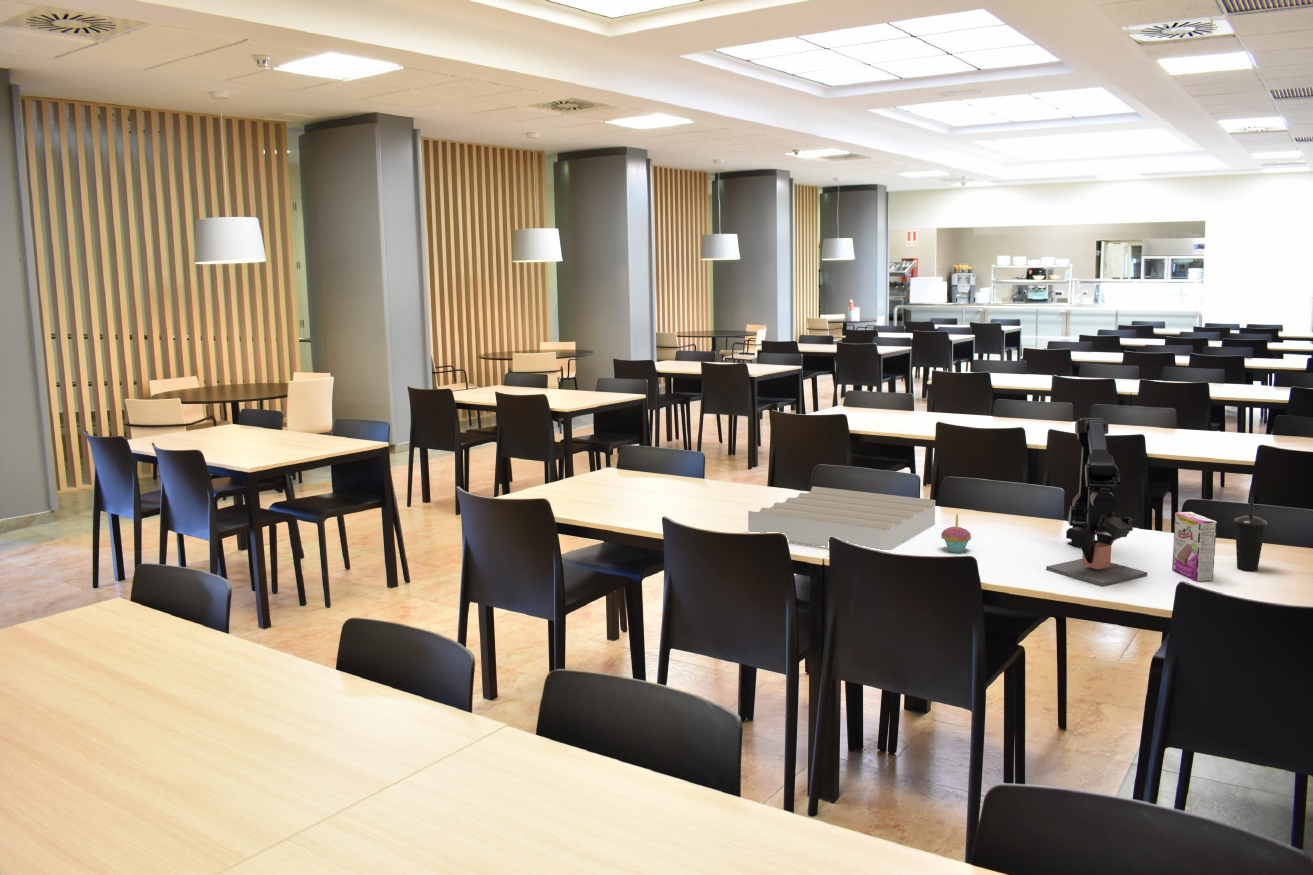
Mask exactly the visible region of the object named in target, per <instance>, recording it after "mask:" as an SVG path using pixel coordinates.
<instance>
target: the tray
mask: <svg viewBox="0 0 1313 875" xmlns="http://www.w3.org/2000/svg"><path fill="white" fill-rule="evenodd" d="M935 521H936V499H929V498H920V497H912V496H902V495H895V494H885V493H875V492H866V491H857V490H849V489H840V488H832V487H831V488H830V487H823V486H822V487H821V486H812V487H811V489H810V491H809V492H800V493H799V494H798V496H796V497H789V496H788V497H787V498H786V500H785V501H783V502H777V501H776V502H774V503H773V506H770V507H761V508H760V509H759V511H752V510H748V511H747V522H748V523H747V525H748V529H747V530H748V531H749V532H760V533H767V532H779V533H784V534H785V535H786V536H787V538H788V540H789V542H790V543H789V544H794V543H798V544H797V545H801V544H806V545H805V546H808V545H814V546H825V547H828V542H829V537H830V536H835V537H838V538H840V539H842V540H844V541H848V542H849V543H852V544H857V545H860V546H865V547H869V548H875V549H880V550H891V551H892V550H894V549H896V548H897V547H899V546H901V545H902V544H904V543H906V542H908V541H910V540H911V539H914V538H915V537H917V536H918V535H920V534H921V533H923V532H925V531H926V530H929V529H930V528H932V527H933V526H935V525H936V524H935V523H936V522H935ZM814 546H813V547H814Z"/></svg>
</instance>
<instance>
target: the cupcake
mask: <svg viewBox="0 0 1313 875" xmlns="http://www.w3.org/2000/svg"><path fill="white" fill-rule="evenodd" d="M954 525H955V526H950V527H948V528H945V529H943V530H942V532H941V534H940V535H941V536H940V537H941V539H942V540H944V542H945V544H946V548H947V550H948V551H949V552H952V553H963V552H965V550H966V547H967V545H968V543H969V541H971V539H972V537H971V532H970V531H969V530H968V529H966V528H964V527H961V526H959V514H955V524H954Z"/></svg>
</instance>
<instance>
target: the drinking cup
mask: <svg viewBox="0 0 1313 875" xmlns="http://www.w3.org/2000/svg"><path fill="white" fill-rule="evenodd" d="M1254 500H1255V499H1254V497H1250V503H1249V515H1242V516H1239V517H1235V518H1234V520H1233V521H1234V523H1235V526H1234V527H1235V544H1236V546H1235V550H1236V568H1237V569H1238V570H1239V571H1243V572H1258V570H1259V562H1260V558H1261V552H1262V547H1263V541H1264V535H1265V530H1266V526H1267V525H1268V522H1267V520H1265V519H1263V518H1261V517H1258V516H1255V515H1253V514H1254V513H1253V512H1254Z"/></svg>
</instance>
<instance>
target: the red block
mask: <svg viewBox="0 0 1313 875" xmlns="http://www.w3.org/2000/svg"><path fill="white" fill-rule="evenodd" d="M1081 559H1082V565H1084V566H1087V567H1091V568H1094V569H1102V568H1107V567H1110V563H1112V562H1111V561H1112V560H1111V559H1112V545H1108V544H1104V543H1100V542H1098V543H1097V544H1096V545H1095V546H1094V554H1093V561H1092V563H1088V562H1087V560H1086V558H1085V555H1084V553H1083V552H1082V558H1081Z"/></svg>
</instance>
